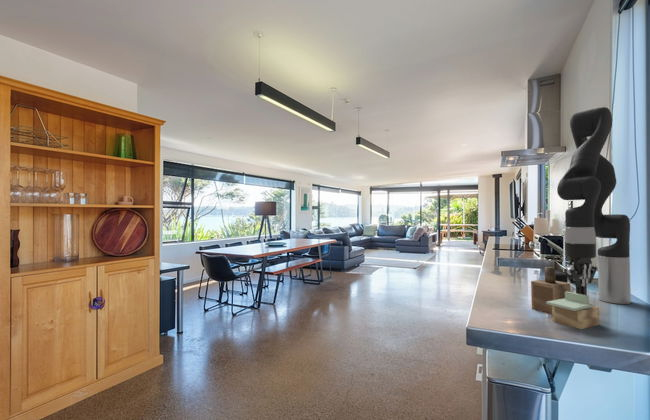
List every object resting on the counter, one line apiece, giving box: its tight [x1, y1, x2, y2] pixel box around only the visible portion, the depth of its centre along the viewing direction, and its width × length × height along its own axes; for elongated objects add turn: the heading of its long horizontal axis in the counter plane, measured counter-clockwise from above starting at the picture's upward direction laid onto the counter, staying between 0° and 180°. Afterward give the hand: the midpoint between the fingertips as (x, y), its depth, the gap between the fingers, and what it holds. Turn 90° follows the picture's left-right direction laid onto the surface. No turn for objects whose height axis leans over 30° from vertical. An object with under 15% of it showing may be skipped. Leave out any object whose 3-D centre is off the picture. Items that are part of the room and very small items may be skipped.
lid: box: [546, 292, 595, 311], centre depth 98 cm, size 9×8×3 cm
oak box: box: [551, 305, 600, 330], centre depth 99 cm, size 9×8×6 cm
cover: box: [530, 266, 571, 315], centre depth 111 cm, size 8×8×16 cm
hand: (581, 297), depth 100 cm, fingers closed
